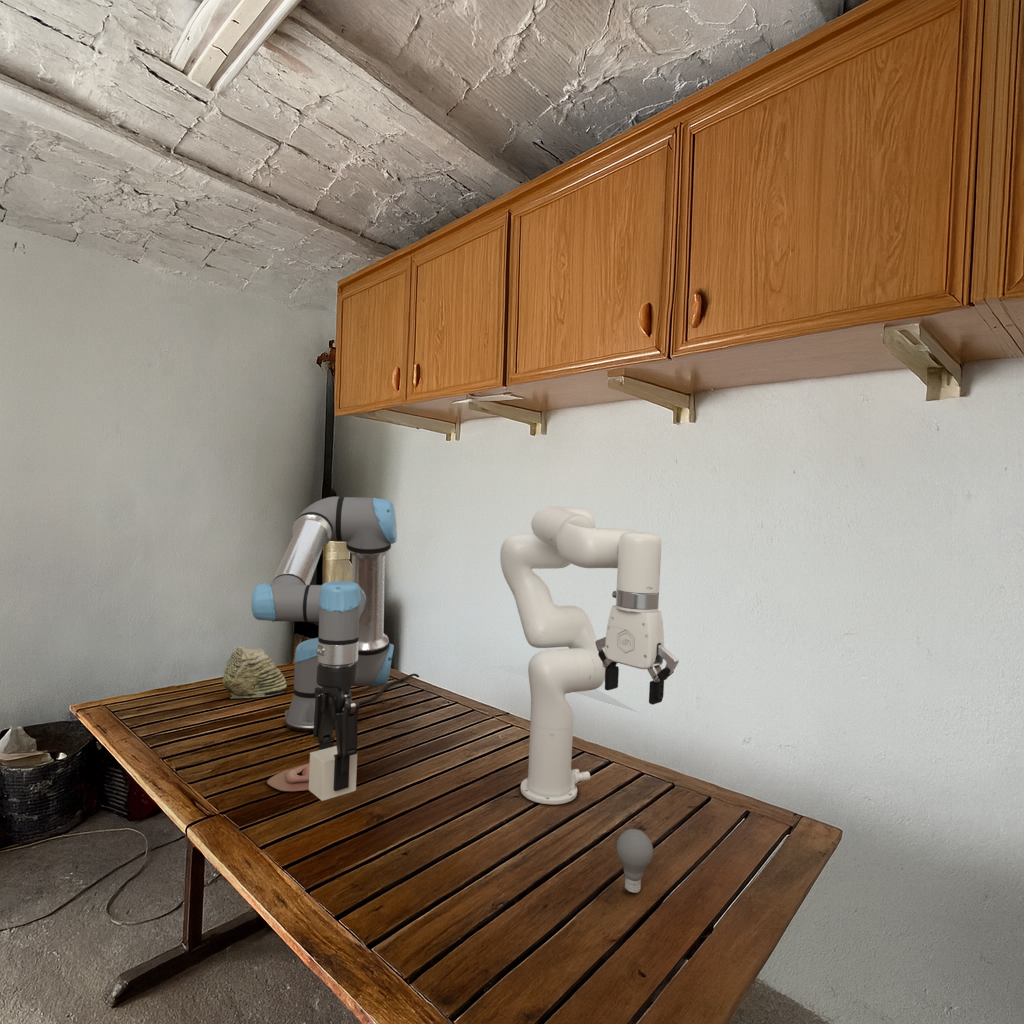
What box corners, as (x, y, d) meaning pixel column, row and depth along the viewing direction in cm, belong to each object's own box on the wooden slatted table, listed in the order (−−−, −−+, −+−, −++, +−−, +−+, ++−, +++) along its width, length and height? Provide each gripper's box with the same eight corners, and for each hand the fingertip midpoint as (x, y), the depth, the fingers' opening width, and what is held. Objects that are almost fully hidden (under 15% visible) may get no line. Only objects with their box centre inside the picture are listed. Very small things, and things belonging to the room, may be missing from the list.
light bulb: (610, 879, 108) (613, 822, 108) (644, 879, 109) (647, 822, 109) (619, 902, 102) (622, 840, 102) (655, 901, 103) (658, 840, 103)
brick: (308, 790, 122) (309, 752, 122) (341, 780, 126) (343, 744, 126) (322, 801, 118) (323, 762, 117) (356, 790, 122) (357, 753, 122)
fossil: (218, 695, 195) (220, 647, 195) (278, 685, 208) (279, 640, 207) (228, 703, 189) (230, 653, 188) (289, 692, 201) (290, 645, 201)
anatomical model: (259, 769, 136) (288, 749, 147) (258, 787, 136) (288, 766, 147) (316, 777, 133) (341, 756, 145) (315, 796, 133) (340, 773, 145)
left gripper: (297, 655, 126) (293, 770, 126) (343, 677, 112) (338, 807, 113) (332, 650, 131) (328, 761, 131) (380, 671, 117) (375, 795, 118)
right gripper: (586, 595, 117) (582, 687, 118) (666, 610, 105) (661, 713, 105) (611, 593, 123) (607, 680, 123) (691, 606, 110) (686, 704, 110)
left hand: (333, 782), depth 122 cm, fingers closed on brick, 6 cm apart
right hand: (632, 695), depth 114 cm, fingers open, 9 cm apart
